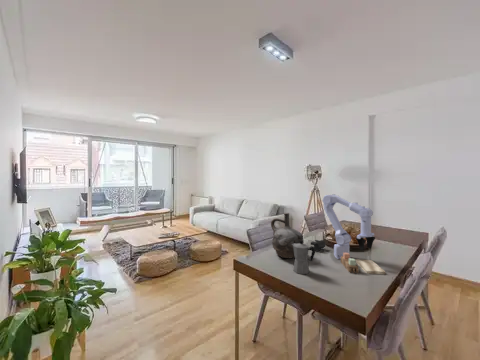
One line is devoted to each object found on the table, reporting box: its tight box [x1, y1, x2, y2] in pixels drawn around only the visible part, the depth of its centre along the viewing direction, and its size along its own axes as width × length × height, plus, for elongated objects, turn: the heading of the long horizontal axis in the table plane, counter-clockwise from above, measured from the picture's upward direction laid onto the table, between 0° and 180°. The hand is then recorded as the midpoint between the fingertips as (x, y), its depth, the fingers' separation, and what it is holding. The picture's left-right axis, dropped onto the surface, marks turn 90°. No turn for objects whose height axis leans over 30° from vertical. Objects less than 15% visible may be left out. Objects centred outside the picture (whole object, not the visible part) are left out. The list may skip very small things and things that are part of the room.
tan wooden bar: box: [340, 256, 359, 274], centre depth 139 cm, size 16×5×4 cm, turn 173°
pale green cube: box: [349, 257, 357, 266], centre depth 134 cm, size 3×3×3 cm
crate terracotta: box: [343, 252, 351, 259], centre depth 144 cm, size 3×3×3 cm
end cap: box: [310, 239, 326, 252], centre depth 171 cm, size 10×7×7 cm
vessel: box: [270, 212, 305, 259], centre depth 159 cm, size 24×22×30 cm
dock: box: [354, 258, 387, 275], centre depth 139 cm, size 10×18×2 cm, turn 173°
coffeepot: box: [291, 240, 316, 275], centre depth 133 cm, size 15×9×18 cm, turn 43°
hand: (365, 248), depth 144 cm, fingers open, 7 cm apart
